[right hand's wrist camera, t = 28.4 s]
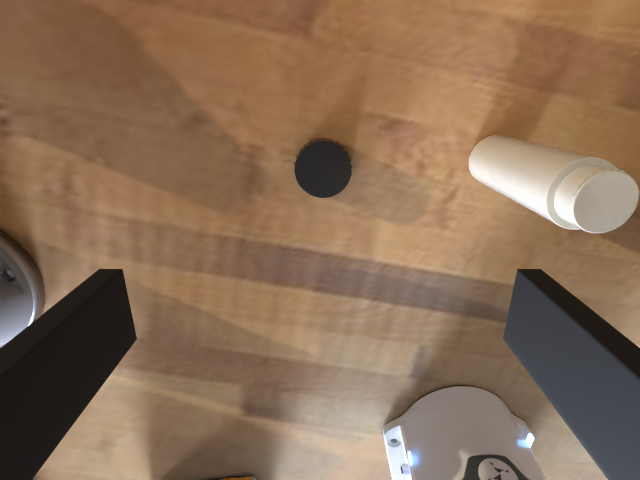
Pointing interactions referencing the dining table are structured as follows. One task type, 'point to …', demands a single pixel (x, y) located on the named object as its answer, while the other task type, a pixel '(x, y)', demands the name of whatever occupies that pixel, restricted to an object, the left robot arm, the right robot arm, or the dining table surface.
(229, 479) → the hard drive box
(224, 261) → the dining table surface
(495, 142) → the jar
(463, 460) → the left robot arm
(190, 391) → the dining table surface
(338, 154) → the lid
